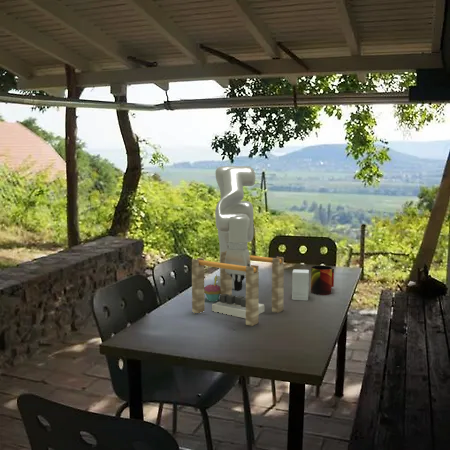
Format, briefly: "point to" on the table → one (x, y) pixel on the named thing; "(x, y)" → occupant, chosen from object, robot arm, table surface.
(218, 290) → the cupcake
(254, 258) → the orange cylindrical bar
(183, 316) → the table surface
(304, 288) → the supplement box
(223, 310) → the breaker panel
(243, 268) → the orange rounded rod
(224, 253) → the wooden post rack
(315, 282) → the mug
